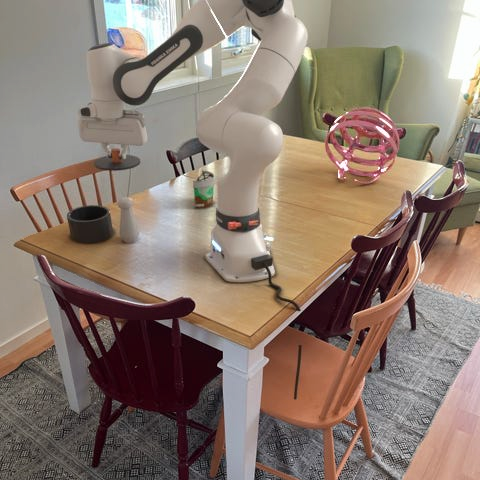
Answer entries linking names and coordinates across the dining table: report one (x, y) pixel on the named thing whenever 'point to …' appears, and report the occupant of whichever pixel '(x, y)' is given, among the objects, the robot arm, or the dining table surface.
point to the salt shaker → (127, 221)
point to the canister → (90, 224)
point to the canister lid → (116, 162)
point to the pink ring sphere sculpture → (355, 144)
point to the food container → (204, 190)
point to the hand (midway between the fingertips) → (116, 158)
